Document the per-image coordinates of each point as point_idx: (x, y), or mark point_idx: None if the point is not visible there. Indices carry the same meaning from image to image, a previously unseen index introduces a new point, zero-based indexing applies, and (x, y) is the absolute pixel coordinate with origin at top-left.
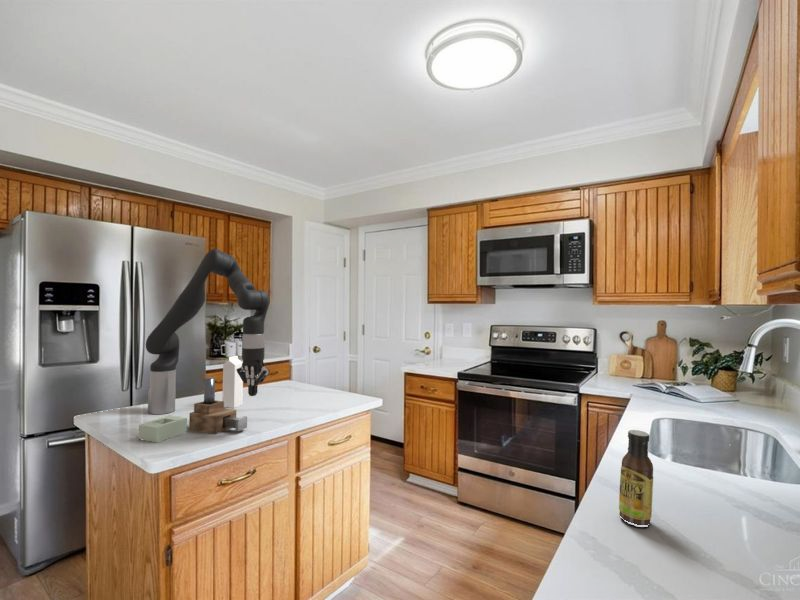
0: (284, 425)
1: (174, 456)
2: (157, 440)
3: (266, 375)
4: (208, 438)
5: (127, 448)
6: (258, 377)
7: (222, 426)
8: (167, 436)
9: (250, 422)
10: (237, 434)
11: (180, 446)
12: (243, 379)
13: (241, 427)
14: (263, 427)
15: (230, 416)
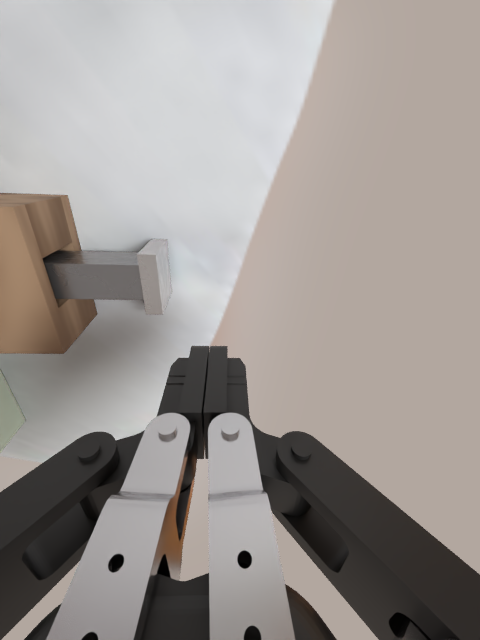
0: (296, 79)
1: None
2: (20, 423)
3: (452, 574)
4: (117, 352)
5: (11, 457)
6: (329, 579)
7: None
8: (7, 400)
9: (76, 102)
10: (173, 289)
11: (110, 416)
12: (84, 530)
13: (168, 279)
14: (208, 164)
15: (47, 252)
